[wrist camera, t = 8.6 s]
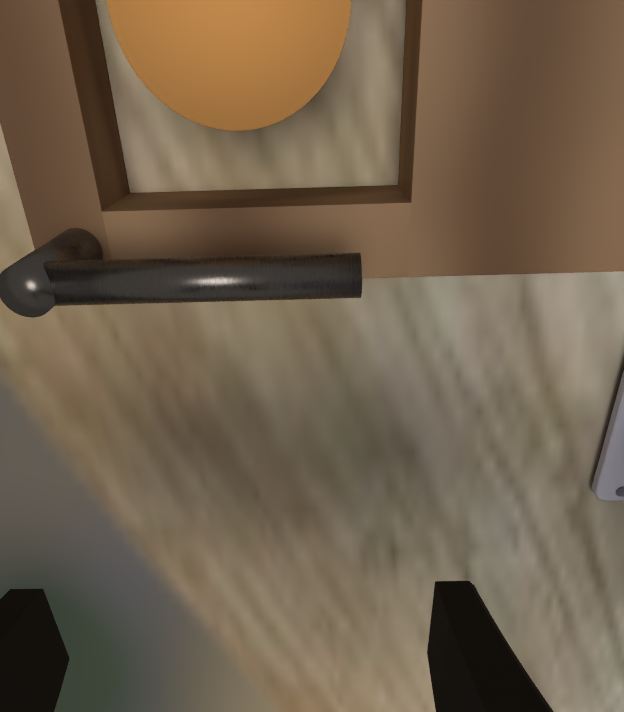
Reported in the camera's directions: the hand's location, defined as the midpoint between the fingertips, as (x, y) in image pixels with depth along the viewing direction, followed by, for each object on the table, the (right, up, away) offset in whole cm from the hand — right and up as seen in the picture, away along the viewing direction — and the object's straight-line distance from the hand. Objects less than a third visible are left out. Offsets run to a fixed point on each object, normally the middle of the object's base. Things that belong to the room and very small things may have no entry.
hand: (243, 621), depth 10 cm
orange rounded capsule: (0, +14, +4) cm, 14 cm away
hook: (-2, +9, +6) cm, 11 cm away
